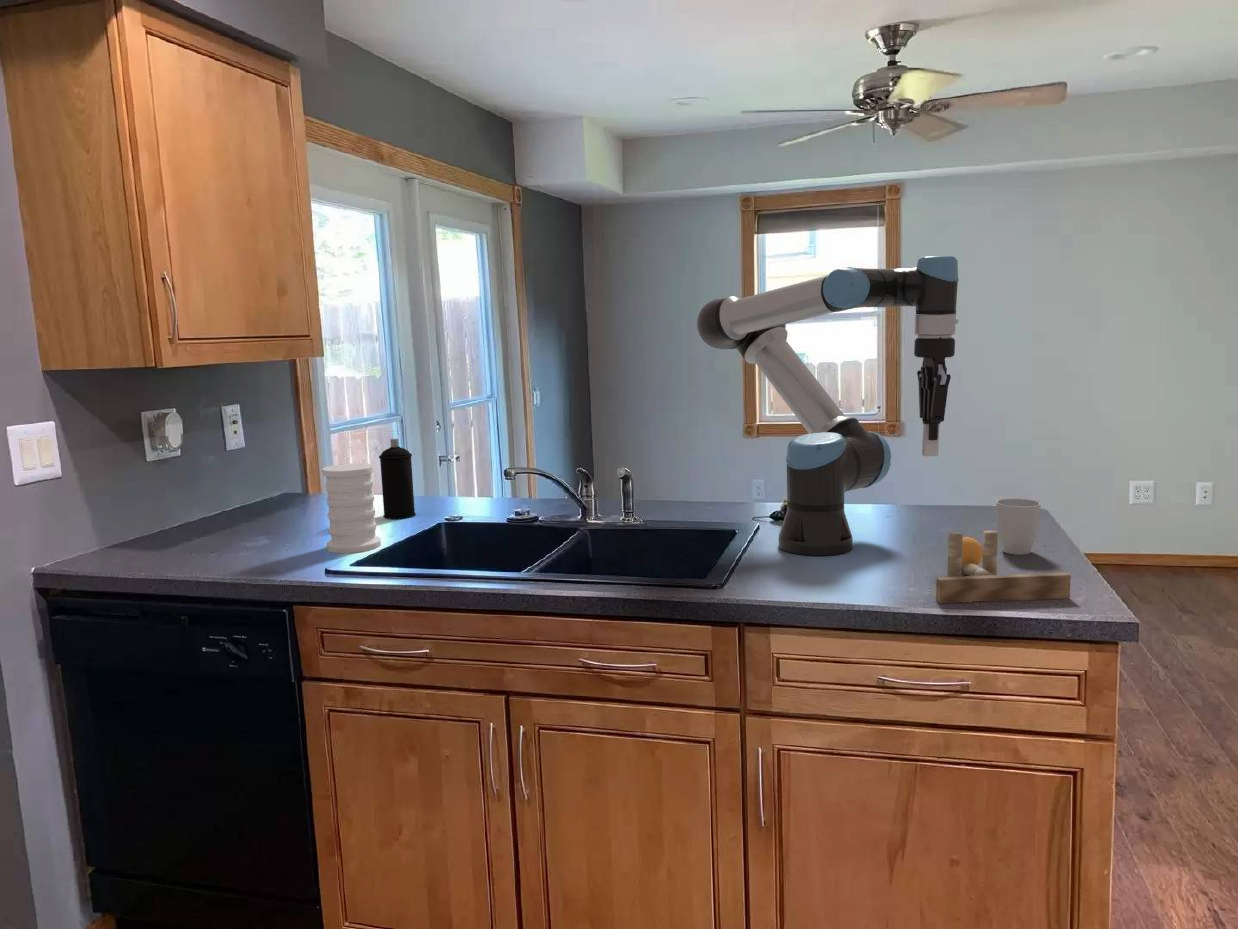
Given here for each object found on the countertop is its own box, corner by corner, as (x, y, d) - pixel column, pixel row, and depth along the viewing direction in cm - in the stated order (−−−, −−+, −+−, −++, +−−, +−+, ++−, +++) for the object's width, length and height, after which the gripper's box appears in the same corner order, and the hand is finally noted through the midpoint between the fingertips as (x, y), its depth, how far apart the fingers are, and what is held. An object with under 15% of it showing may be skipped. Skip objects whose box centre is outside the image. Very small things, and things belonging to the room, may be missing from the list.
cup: (1044, 550, 183) (1046, 501, 182) (1030, 558, 177) (1032, 508, 176) (1003, 544, 189) (1005, 497, 187) (988, 552, 183) (989, 503, 181)
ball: (953, 527, 172) (938, 551, 175) (965, 548, 167) (949, 572, 170) (981, 533, 173) (966, 556, 176) (994, 554, 168) (978, 577, 171)
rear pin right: (950, 581, 164) (951, 535, 163) (945, 577, 167) (946, 532, 165) (963, 580, 164) (964, 534, 163) (958, 577, 167) (959, 531, 165)
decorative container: (369, 538, 211) (364, 461, 209) (388, 547, 202) (383, 467, 199) (319, 546, 205) (313, 467, 202) (337, 556, 195) (330, 473, 193)
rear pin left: (985, 580, 164) (987, 533, 163) (979, 576, 167) (981, 530, 165) (998, 579, 164) (1000, 533, 163) (992, 575, 167) (994, 530, 165)
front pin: (960, 571, 168) (983, 584, 160) (967, 560, 168) (990, 572, 159) (970, 577, 168) (994, 590, 160) (977, 565, 168) (1001, 578, 160)
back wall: (939, 603, 152) (940, 580, 151) (935, 600, 154) (936, 577, 153) (1069, 598, 153) (1070, 575, 152) (1064, 595, 154) (1065, 572, 154)
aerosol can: (411, 519, 231) (406, 440, 227) (379, 520, 231) (373, 441, 228) (419, 512, 239) (414, 436, 236) (387, 513, 239) (382, 437, 236)
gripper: (966, 337, 172) (960, 460, 176) (943, 335, 185) (938, 450, 189) (926, 338, 173) (921, 461, 177) (905, 336, 185) (901, 450, 189)
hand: (930, 455), depth 183 cm, fingers closed
